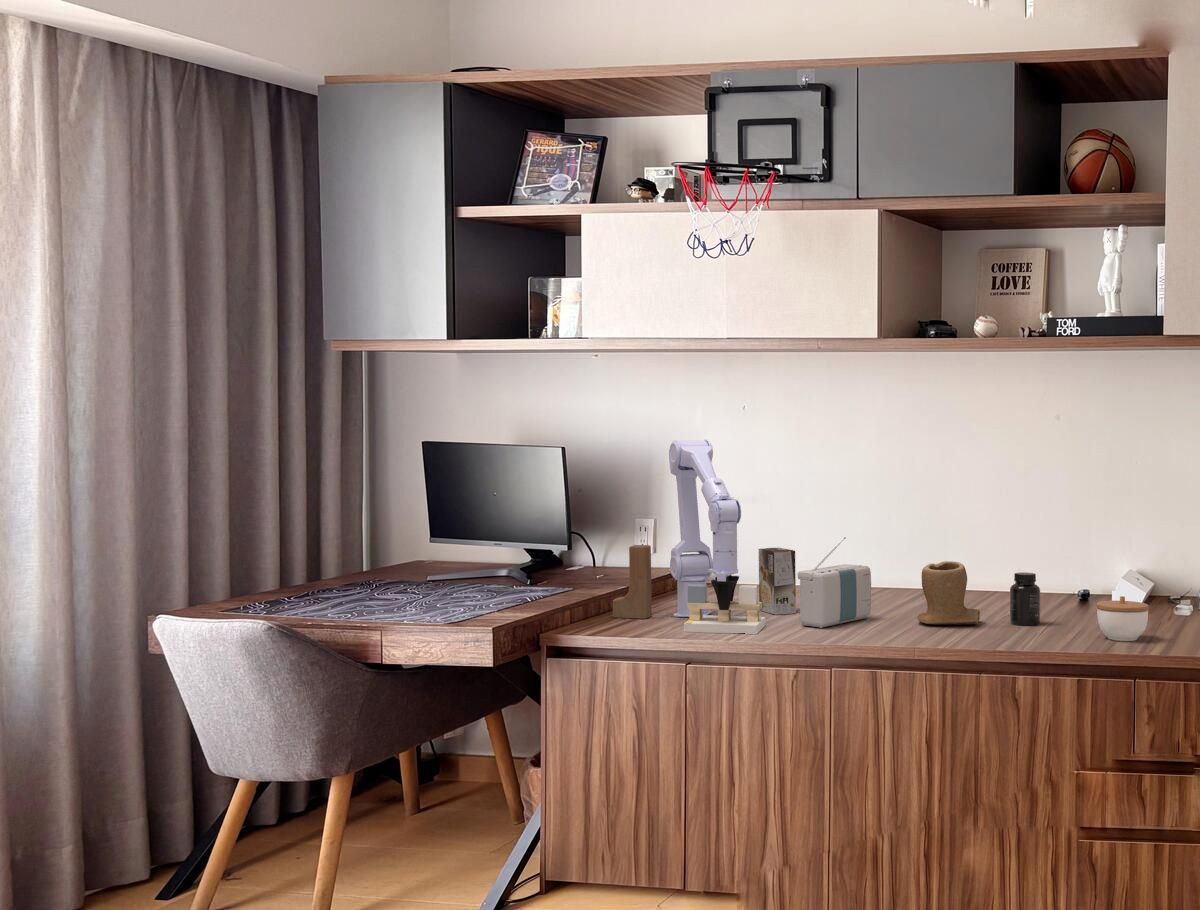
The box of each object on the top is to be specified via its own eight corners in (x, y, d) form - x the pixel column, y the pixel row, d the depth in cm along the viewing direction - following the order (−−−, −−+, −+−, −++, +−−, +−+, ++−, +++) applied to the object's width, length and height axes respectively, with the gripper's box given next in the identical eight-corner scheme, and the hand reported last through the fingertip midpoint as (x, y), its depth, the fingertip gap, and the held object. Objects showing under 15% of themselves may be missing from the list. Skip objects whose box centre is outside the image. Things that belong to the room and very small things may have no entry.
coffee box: (797, 613, 336) (796, 550, 336) (774, 615, 334) (774, 551, 334) (779, 608, 345) (779, 547, 344) (757, 610, 343) (757, 548, 342)
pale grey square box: (690, 600, 318) (690, 584, 318) (706, 601, 318) (706, 584, 318) (687, 603, 315) (687, 586, 314) (704, 603, 314) (704, 586, 314)
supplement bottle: (1038, 622, 319) (1038, 572, 318) (1041, 626, 312) (1041, 575, 312) (1008, 621, 320) (1008, 571, 320) (1011, 625, 314) (1011, 575, 313)
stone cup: (921, 629, 311) (921, 564, 310) (914, 621, 323) (914, 559, 322) (988, 629, 309) (987, 564, 309) (978, 621, 321) (978, 559, 321)
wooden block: (612, 617, 333) (611, 546, 332) (617, 615, 337) (617, 544, 337) (646, 619, 330) (646, 546, 330) (652, 616, 334) (651, 545, 334)
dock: (695, 623, 323) (695, 614, 323) (765, 625, 318) (765, 616, 318) (684, 631, 311) (683, 622, 310) (756, 634, 306) (756, 625, 306)
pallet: (690, 617, 319) (690, 600, 319) (761, 619, 315) (761, 602, 315) (687, 620, 314) (687, 603, 314) (759, 622, 311) (759, 605, 310)
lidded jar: (1149, 636, 297) (1149, 594, 297) (1148, 644, 287) (1148, 600, 287) (1097, 633, 301) (1097, 592, 301) (1095, 641, 291) (1095, 598, 291)
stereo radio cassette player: (824, 630, 311) (823, 544, 311) (795, 626, 317) (794, 542, 316) (873, 619, 326) (872, 537, 326) (844, 616, 332) (844, 536, 331)
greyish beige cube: (740, 601, 316) (740, 585, 316) (757, 602, 315) (757, 585, 315) (738, 604, 312) (738, 587, 312) (755, 604, 311) (755, 587, 311)
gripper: (712, 547, 322) (712, 603, 323) (703, 553, 308) (704, 612, 309) (741, 547, 321) (741, 604, 321) (734, 554, 307) (734, 613, 307)
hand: (725, 608), depth 315 cm, fingers closed on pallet, 5 cm apart
